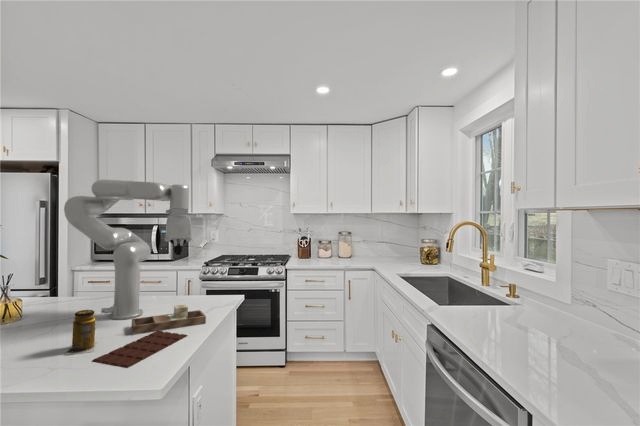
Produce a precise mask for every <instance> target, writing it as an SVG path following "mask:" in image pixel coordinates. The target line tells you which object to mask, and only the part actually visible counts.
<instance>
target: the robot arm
mask: <svg viewBox="0 0 640 426" xmlns="http://www.w3.org/2000/svg"><path fill="white" fill-rule="evenodd" d="M91 192H92V194H93V196H90V195H89V196H85V195H76V196H72V197H70V198H68V199H67V200H66V201H65V203H64V205H63V206H64V207H63V208H64V209H63V211H64V216H65V218H66V220H67V222H68V223H69V224H70V225H71V226H72V227H74V228H75V229H77V231H79V232H81V233H82V234H83V235H85V236H86V237H87V238H88V239H90V240H91V241H93V242H94V243H95V244H97V245H98V246H99V247H100V248H102V249H104V250H109V251H111V250H114V251H113V254H112V255H113V256H112V261H113V265H114V295H113V298H114V300H113V304H112V306H110V307H102V308H101V311H100V313H101V314H109V316H108V317H109V319H113V320H128V319H135V318H139V317H140V316H142V315H143V313H144V311H143V309H141V308H140V293H141V292H140V285H141V271H140V270H141V269H140V265H139V263H140V262H144V261H147V259H149V258H150V256H151V253H152V251H151V247H150V246H149V244H148V243H147V242H146V241H145V240H143V239H142V238H141V237H140V236H138V235H136V234H135V233H134V232H132V231H131V230H130V229H128V228H125V227H111V226H110V225H108V224H107V223H105V222H104V221H103V220H101V219H99V218H97V217H96V216H99V215H102V214H103V215H104V213H106V212H107V211H108V210H110V209H111V208H112V207H113V206H114V205H116V204H117V203H118V202H119V201H121V200H122V201H133V200H142V201H145V200H148V201H159V202H160V201H161V202H169V209H166V210H165V213H166V214H169V215H167V219H166V224H165V233H164V234H165V236H164V237H165V238H164V242H167V243H170V244H172V245H173V253H174V255H175V256H181V254H182V252H183V245H184V244H186V243H188V242H191V241H192V221H191V220H192V219H191V216H189V202H190V201H189V199H190V197H189V195H190V188H189V186H188V185H186V184H172V185H170V184H166V183H161V182H154V181H153V182H151V181H135V180H134V181H133V180H122V179H121V180H118V179H99V180H96V181H94V182H93V183H92V185H91ZM178 240H179V242H178Z"/></svg>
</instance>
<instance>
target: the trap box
mask: <svg viewBox="0 0 640 426" xmlns="http://www.w3.org/2000/svg"><path fill="white" fill-rule="evenodd" d="M206 320H207V316H206V315H205V313H203V311H202V310H200V309H199V310H198V309H197V310H191V311H190V310H188V317H184V318H177V319H176V318H175V317H174V313H167V314H159V315H151V316H144V317H134V318H131V330H132V334H133V335H140V334H146V333H154V332H156V331H166V330H171V329H178V328H184V327H192V326H198V325H204V324H207V321H206Z"/></svg>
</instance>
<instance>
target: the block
mask: <svg viewBox="0 0 640 426" xmlns="http://www.w3.org/2000/svg"><path fill="white" fill-rule="evenodd" d="M188 312H189V307H188V305H187V304H177V305H173V314H174V317H175V318H176V319H177V318H184V317H188Z"/></svg>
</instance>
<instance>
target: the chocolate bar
mask: <svg viewBox="0 0 640 426" xmlns="http://www.w3.org/2000/svg"><path fill="white" fill-rule="evenodd" d="M187 337H188V335H187V334H186V333H185V334H184V333H180V334H179V333H177V332H170V331H165V332H164V330H160V331H154V332H150V333H149V334H147V335H145V336H143V337H141V338H138V339H136V340H134V341H131V342H130V343H127V344H125V345H123V346H122V347H118V348H116V349H113V350H112V351H110V352H108V353H105V354H103V355H101V356H98V357H95V358H94V359H93V360H91V363H97V364H101V365H106V366H107V365H108V366H112V367H120V368H124V369H129V368H130V367H133V366H134V365H136V364H138V363H140V362H141V361H143V360H146V359H147V358H149V357H151V356H153V355H155V354H157V353H159V352H161V351H163V350H165V349H167V347H168V348H169V346H172V345H173V344H174V345H175V343H177V342H179V341H180V340H183V339H185V338H187Z"/></svg>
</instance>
